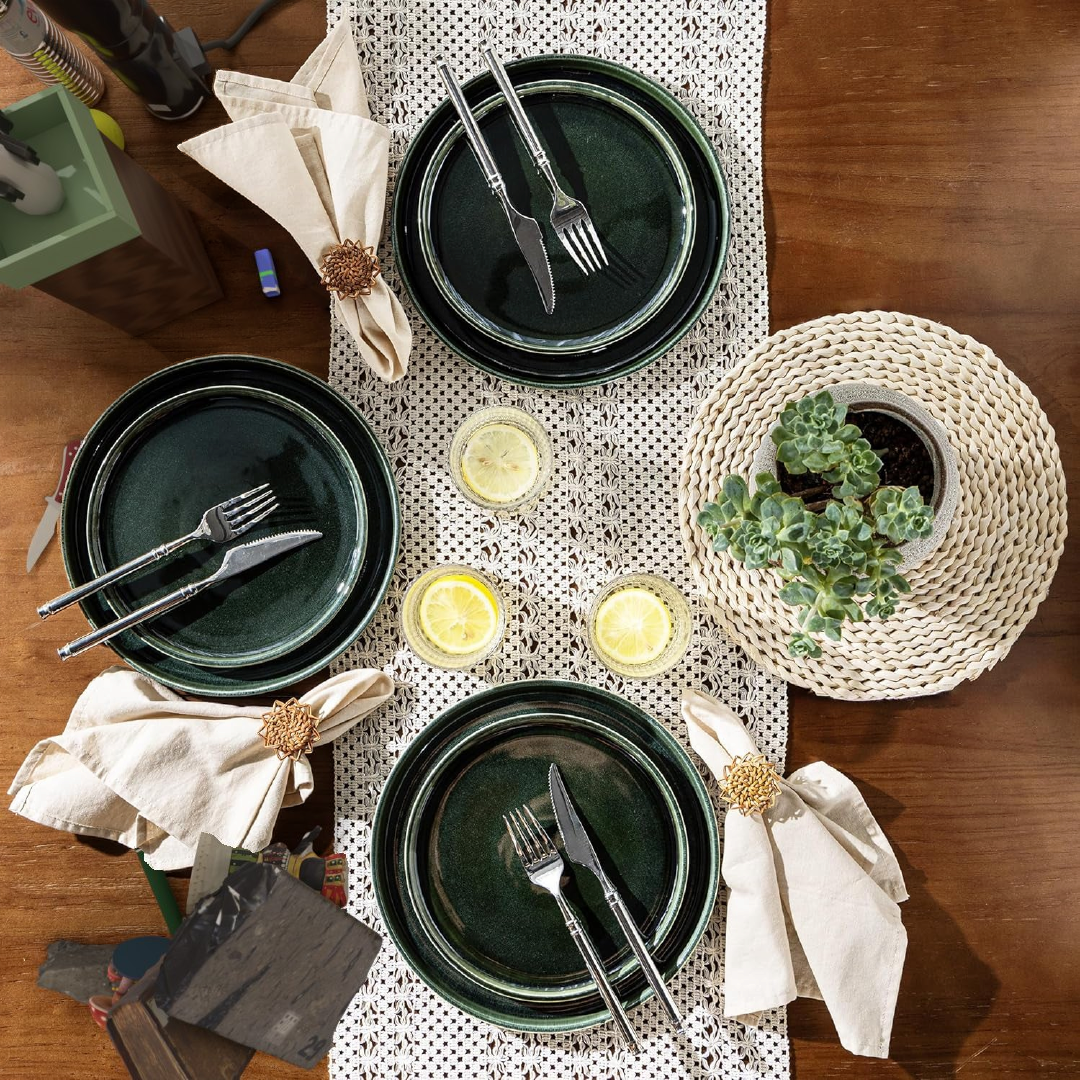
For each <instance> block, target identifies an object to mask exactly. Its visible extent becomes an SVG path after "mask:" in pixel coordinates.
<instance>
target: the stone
mask: <svg viewBox="0 0 1080 1080" xmlns="http://www.w3.org/2000/svg"><path fill="white" fill-rule="evenodd" d="M119 945H120V944H114V943H113V944H111V943H110V944H106V943H105V944H100V945H99V944H84V943H83V942H74V941H70V940H64V939H61V940H58V941H56V942H54V943H49V945H48V946H47V947H46V951H47V958H46V961H44V962H43V963H42V964H40V965H39V966H38V967H37V971H38V973H37V980H36V983H35V985H36V986H37V987H40V988H43V989H45V990H46V991H54V992H57V993H59V994H62V995H65V996H68V997H70V998H71V999H73V1000H74V1001H76V1002H78V1003H81V1004H84V1005H87V1006H89V999H90V998H91V997H93V996H97V995H102V996H109V997H113V996H114V993H115V991H116V988H117V987H119V986H120V983H121V981H122V980H120V981H118V982H112V981H111V980H110V979H109V976H108V967H109V966H110V965H111V964H112V961H111V958H112V957H113V954H114V951H115V949H116V948H117V947H118V946H119ZM133 985H134V984H133V983H131V985H130V987H129V988H131V987H132V986H133ZM113 987H114V988H115V990H112V988H113Z"/></svg>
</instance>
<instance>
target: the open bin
mask: <svg viewBox="0 0 1080 1080" xmlns="http://www.w3.org/2000/svg"><path fill="white" fill-rule="evenodd" d="M0 109H1V111H2V112H3V113H4V114H5V115H6V116H7V117H8V118H9V119H10V120H11V121H12V122H13V125H14V127H13V129H12V130H11V131H9V135H10V136H11V137H13V138H16V139H18V140H20V141H23V142H25V143H26V144H27V145H29V146H30V147H31V148H33V149H34V150H35V151H36V152H37V155H36V157H38V158H39V159H40V160H41V161H40V162H42V163H45V164H47V165H49V166H50V167H51V168H52V169H53V170H54V171H55V173H56V174H57V175H58V176H59V178H60V181H61V185H62V189H63V191H64V193H65V195H66V198H65V200H64V203H63V205H62V207H61V209H60V211H59V212H55V213H51V214H48V215H29V214H27V213H25V212H23V211H21V210H19V209H17V208H16V207H15V206H14V205H13V204H12V203H11V202H8V201H6V200H4V199H2V198H0V284H2V285H3V286H7V287H9V288H11V289H13V290H15V291H19V290H22V289H23V288H26V287H28V286H30V285H31V284H33V283H35V282H37V281H39V280H42V279H44V278H46V277H48V276H51V275H53V274H55V273H57V272H60V271H62V270H64V269H66V268H68V267H71V266H73V265H75V264H77V263H80V262H82V261H84V260H86V259H88V258H91V257H93V256H95V255H97V254H100V253H102V252H104V251H106V250H108V249H111V248H113V247H115V246H117V245H120V244H122V243H124V242H126V241H128V240H131V239H133V238H135V237H137V236H140V235H142V233H141V231H140V228H139V226H138V224H137V221H136V219H135V216H134V214H133V212H132V209H131V207H130V205H129V202H128V200H127V197H126V195H125V193H124V190H123V188H122V186H121V183H120V181H119V178H118V176H117V174H116V171H115V169H114V167H113V164H112V162H111V159H110V157H109V155H108V152H107V150H106V148H105V145H104V143H103V140H102V138H101V136H100V133H99V131H98V129H97V126H96V124H95V121H94V119H93V117H92V114H91V112H90V110H89V109H90V108H88V107H87V106H86V105H85V104H84V103H83V102H82V101H81V100H80V99H78V98H77V97H76V96H75V95H74V94H73V93H72V92H71V91H70V90H69V89H67V88H66V87H65V86H64V85H63V84H62V83H61V82H60V83H57V84H55V85H53V86H51V87H49V88H47V87H46V88H44V89H42V90H40V91H38V92H35V93H34V94H31V95H29V96H27V97H25V98H23V99H22V98H21V99H20V100H18V101H16V102H13V103H11V104H10V105H7V106H4V107H3V108H0Z"/></svg>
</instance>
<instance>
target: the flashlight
mask: <svg viewBox="0 0 1080 1080" xmlns="http://www.w3.org/2000/svg"><path fill="white" fill-rule="evenodd" d="M134 850H135V853H136V855H137V858H138V860H139V863H140V865H141V867H142V870H143V872H144V874H145V877H146V880H147V881H148V884H149V886H150V888H151V891H152V894H153V897H154V898H155V901H156V903H157V905H158V908H159V910H160V912H161V914H162V917H163V919H164V922H165V924H166V927H167V929H168V931H169V933H170V936H171V938H172V937H173V935H174V933H175V931H176V930H177V929H178V927H179V926H180V925H181V924H182V922H183V921H184V920H185V919H186V918H187V917H186V916H185V915H183V912H182V910H181V908H180V905H179V903H178V900H177V899H176V896H175V894H174V892H173V889H172V887H171V884H170V881H169V879H168V877H167V874H166V872H165V870H164V869H163V870H154V869H152V868H151V867H150V866H149V864H147V862H145V861H144V852H143V851H142V849H136V848H135V847H134Z"/></svg>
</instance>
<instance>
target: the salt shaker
mask: <svg viewBox="0 0 1080 1080" xmlns="http://www.w3.org/2000/svg"><path fill="white" fill-rule="evenodd" d="M0 181H2V182H4V183H6V184H9V185H11V186H13V187H15V188H16V189H18V190H19V191H21V192H22V193H24V194H25V197H24V199H23V201H22V200H20V199H17V200H16V202H11V203H12V204H13V205H14V206H15V207H16V208H17V209H19V210H21V211H23V212H25V213H27V214H29V215H48V214H51V213H55V212H59V211H60V209H61V207H62V205H63V203H64V200H65V198H66V195H65V193H64V191H63V189H62V185H61V181H60V178H59V176H58V175H57V174H56V173H55V171H54V170H53V169H52V168H51V167H50V166H49V165H47V164H45V163H42V162H40V163H39V166H36V165H34V164H31V163H29V162H27V161H25V160H23V159H22V158H20V157H18V156H17V155H15V154H14V153H12V152H10V151H9V150H7V149H6V148H4V146H3V145H2V144H0Z"/></svg>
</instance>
